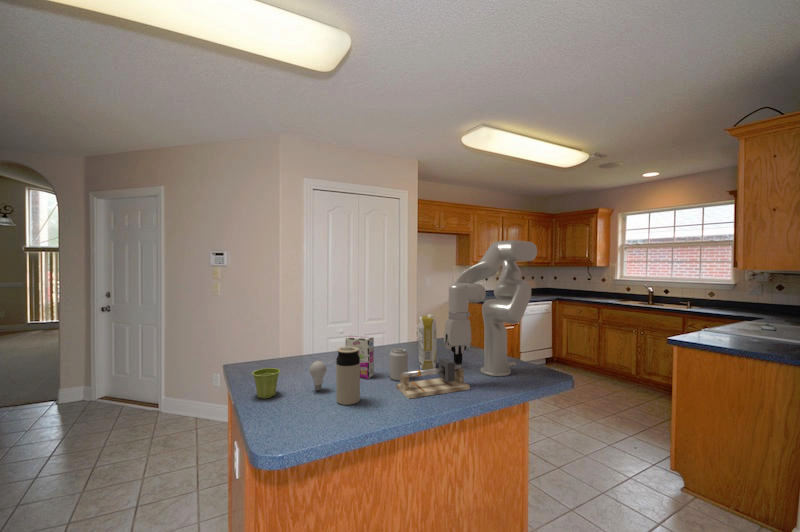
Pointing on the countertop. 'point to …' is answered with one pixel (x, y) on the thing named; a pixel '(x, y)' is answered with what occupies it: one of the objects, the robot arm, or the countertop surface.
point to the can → (398, 363)
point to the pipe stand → (432, 386)
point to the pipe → (428, 371)
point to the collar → (447, 369)
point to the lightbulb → (318, 373)
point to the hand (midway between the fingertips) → (457, 363)
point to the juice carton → (427, 342)
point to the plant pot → (266, 382)
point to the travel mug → (348, 375)
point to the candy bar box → (363, 354)
